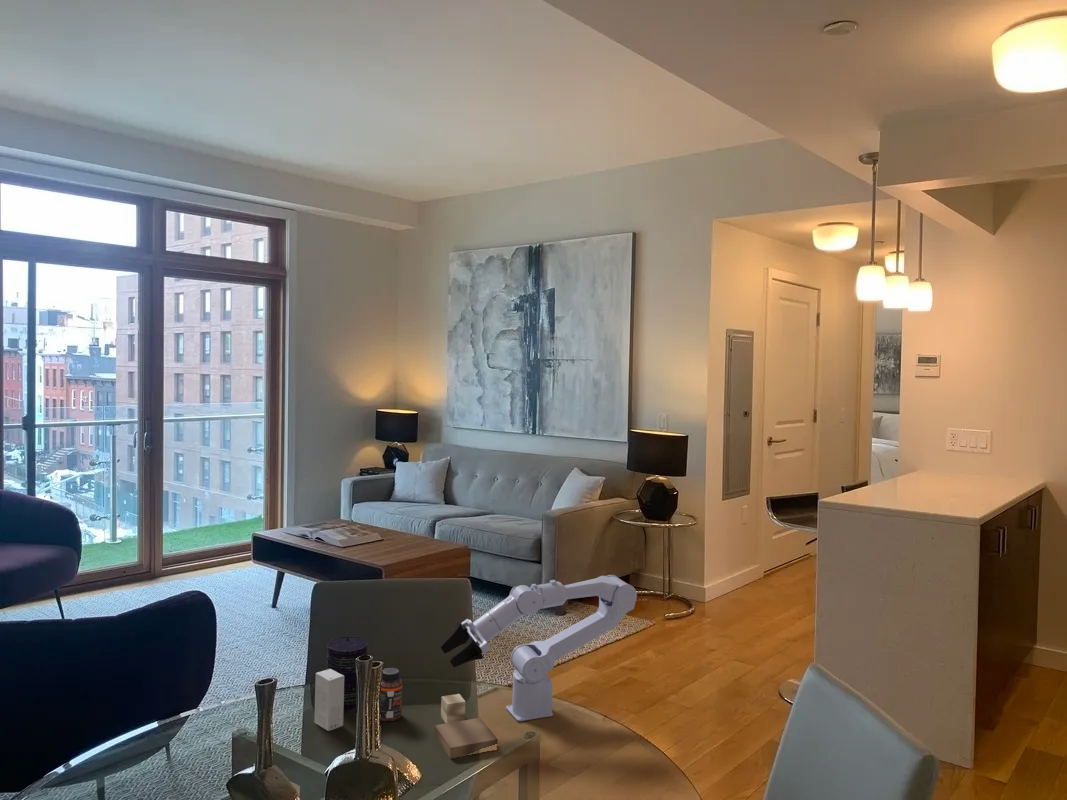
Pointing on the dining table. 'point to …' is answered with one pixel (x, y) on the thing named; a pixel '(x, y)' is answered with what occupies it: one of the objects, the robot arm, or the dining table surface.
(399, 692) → the supplement bottle
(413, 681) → the dining table surface
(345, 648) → the storage jar
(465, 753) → the walnut block
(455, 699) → the maple block
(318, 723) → the skincare box
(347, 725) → the dining table surface
